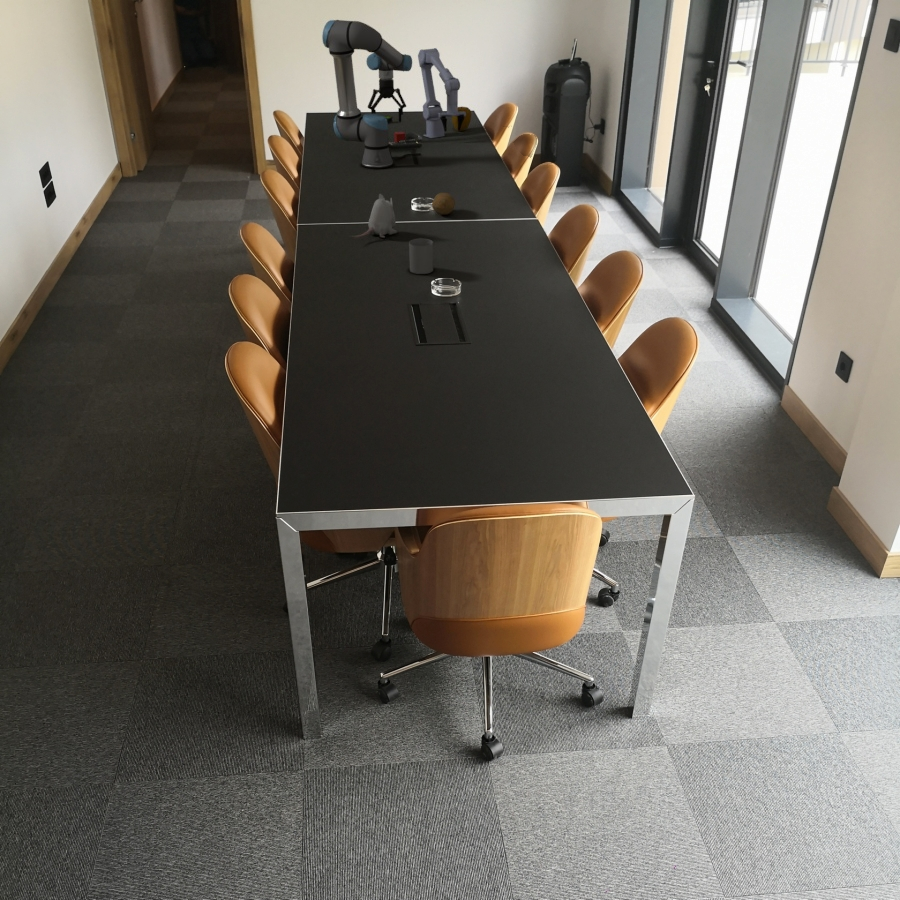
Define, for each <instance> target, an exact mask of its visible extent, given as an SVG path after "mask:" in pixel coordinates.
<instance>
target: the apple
mask: <svg viewBox="0 0 900 900" xmlns="http://www.w3.org/2000/svg"><path fill="white" fill-rule="evenodd" d="M458 111H465V112H466V116H464V120H463V122H462V125H461V129H460V131H459V130H458V118H457V116H451V121H452V125H453V128H454V129H455V131H457V132H463V131H466V130H467V129H468V128H469V126H470V124H471V121H472V111H471V108H469V107H467V106H462V105H461V106H458Z"/></svg>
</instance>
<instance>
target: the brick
mask: <svg viewBox="0 0 900 900" xmlns="http://www.w3.org/2000/svg"><path fill="white" fill-rule="evenodd" d="M393 133H394V134H393V135H394V143H396V142H399V141H400V140H406V132H404V131H395V132H393Z"/></svg>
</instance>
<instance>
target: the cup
mask: <svg viewBox="0 0 900 900" xmlns="http://www.w3.org/2000/svg"><path fill="white" fill-rule="evenodd" d="M408 253H409V272H411V273H412V274H416V275H426V274H430V273H432V272H434V241H433V240H431V239H428V238H422V237H421V238H420V237H419V238H414V239H411V240H410V241H409V242H408Z"/></svg>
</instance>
